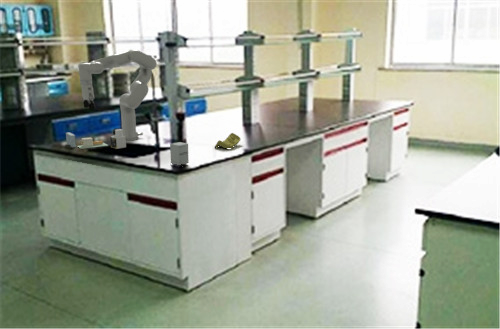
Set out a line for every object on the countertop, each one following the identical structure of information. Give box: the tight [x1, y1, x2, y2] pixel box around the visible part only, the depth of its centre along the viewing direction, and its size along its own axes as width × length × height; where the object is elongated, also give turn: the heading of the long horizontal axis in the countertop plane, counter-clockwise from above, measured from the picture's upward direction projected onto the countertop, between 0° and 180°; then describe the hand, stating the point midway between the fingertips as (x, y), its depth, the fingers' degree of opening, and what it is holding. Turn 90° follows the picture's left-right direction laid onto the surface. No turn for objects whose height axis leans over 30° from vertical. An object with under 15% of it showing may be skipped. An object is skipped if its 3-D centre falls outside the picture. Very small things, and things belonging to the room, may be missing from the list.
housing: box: [65, 132, 77, 148], centre depth 355 cm, size 2×12×8 cm, turn 34°
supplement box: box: [169, 141, 189, 165], centre depth 304 cm, size 7×7×13 cm
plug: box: [80, 137, 104, 147], centre depth 354 cm, size 14×4×5 cm, turn 123°
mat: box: [76, 142, 109, 150], centre depth 355 cm, size 18×9×1 cm, turn 123°
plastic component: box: [214, 132, 241, 149], centre depth 354 cm, size 20×7×10 cm
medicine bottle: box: [109, 128, 127, 150], centre depth 350 cm, size 7×7×12 cm
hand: (89, 108), depth 357 cm, fingers open, 9 cm apart
